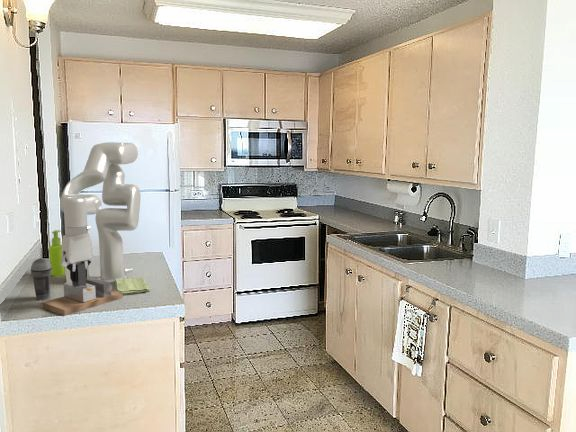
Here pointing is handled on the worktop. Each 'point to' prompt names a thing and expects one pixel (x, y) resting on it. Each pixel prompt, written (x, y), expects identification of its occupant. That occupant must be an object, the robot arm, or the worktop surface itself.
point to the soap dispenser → (56, 256)
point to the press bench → (72, 306)
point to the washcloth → (131, 285)
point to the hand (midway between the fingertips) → (79, 279)
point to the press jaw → (80, 286)
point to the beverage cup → (41, 278)
